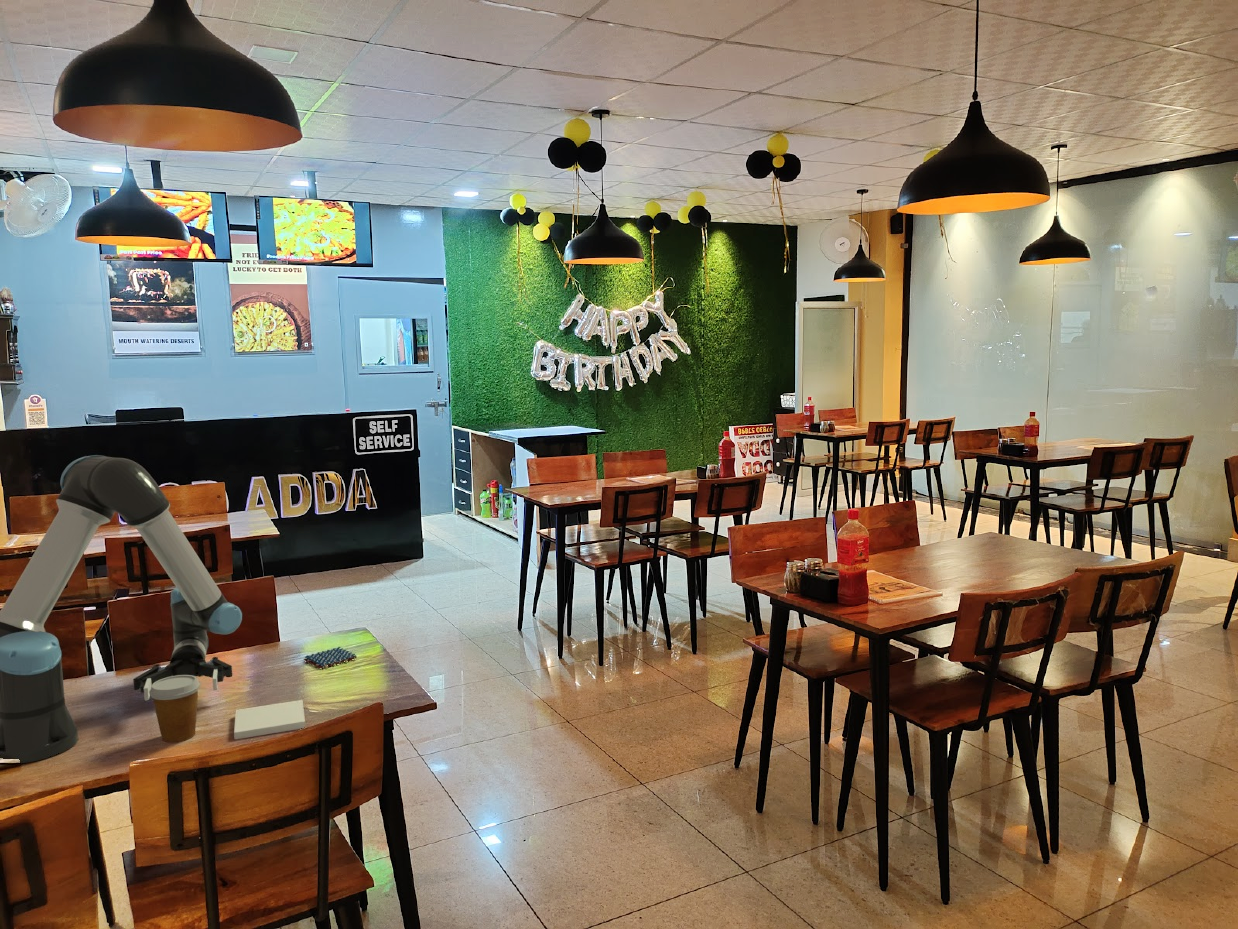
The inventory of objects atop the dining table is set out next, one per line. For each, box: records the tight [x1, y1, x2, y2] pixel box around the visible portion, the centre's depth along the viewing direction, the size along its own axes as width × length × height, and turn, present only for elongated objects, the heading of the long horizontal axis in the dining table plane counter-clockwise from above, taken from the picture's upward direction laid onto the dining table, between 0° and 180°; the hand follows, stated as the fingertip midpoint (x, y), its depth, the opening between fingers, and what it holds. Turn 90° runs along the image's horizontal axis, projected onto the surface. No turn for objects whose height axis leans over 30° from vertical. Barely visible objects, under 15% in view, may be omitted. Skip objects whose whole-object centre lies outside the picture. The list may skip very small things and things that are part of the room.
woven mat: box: [303, 646, 358, 669], centre depth 228 cm, size 10×11×2 cm
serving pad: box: [233, 699, 306, 740], centre depth 190 cm, size 14×13×2 cm
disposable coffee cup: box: [149, 675, 201, 744], centre depth 182 cm, size 10×10×12 cm
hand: (180, 689), depth 191 cm, fingers open, 13 cm apart
